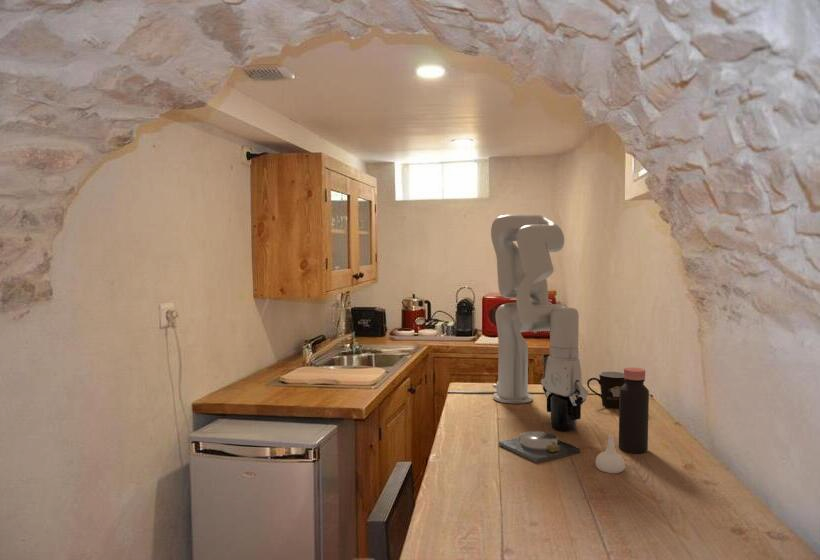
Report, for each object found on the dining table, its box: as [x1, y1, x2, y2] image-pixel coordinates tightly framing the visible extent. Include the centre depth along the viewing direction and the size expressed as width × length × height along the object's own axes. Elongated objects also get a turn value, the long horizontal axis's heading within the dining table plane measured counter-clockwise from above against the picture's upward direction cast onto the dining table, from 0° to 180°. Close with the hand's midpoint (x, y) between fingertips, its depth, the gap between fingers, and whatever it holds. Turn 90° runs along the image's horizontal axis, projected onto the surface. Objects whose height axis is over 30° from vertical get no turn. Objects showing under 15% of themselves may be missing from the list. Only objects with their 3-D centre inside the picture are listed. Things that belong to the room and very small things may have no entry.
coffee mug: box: [586, 371, 625, 410], centre depth 187 cm, size 12×9×10 cm
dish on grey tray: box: [498, 430, 581, 464], centre depth 148 cm, size 14×14×3 cm
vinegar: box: [618, 367, 650, 454], centre depth 147 cm, size 7×7×20 cm
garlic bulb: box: [594, 434, 626, 474], centre depth 135 cm, size 6×6×8 cm
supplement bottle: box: [550, 394, 577, 433], centre depth 164 cm, size 7×7×12 cm
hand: (563, 415), depth 164 cm, fingers open, 8 cm apart
